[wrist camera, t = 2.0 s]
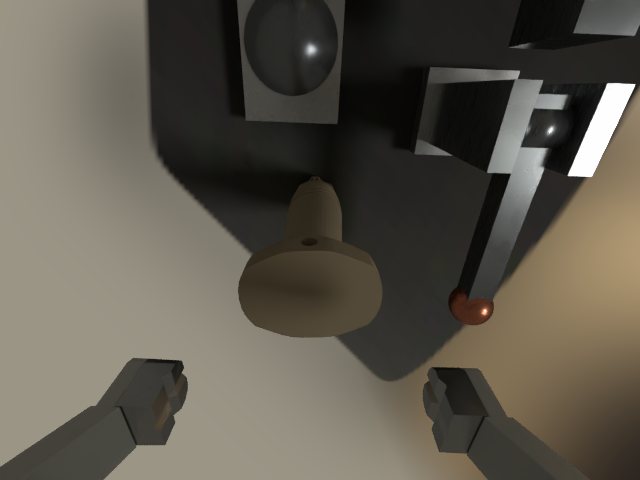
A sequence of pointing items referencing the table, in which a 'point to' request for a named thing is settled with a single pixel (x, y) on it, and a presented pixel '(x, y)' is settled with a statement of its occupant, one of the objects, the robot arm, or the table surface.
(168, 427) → the robot arm
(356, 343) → the table surface
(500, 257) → the lever
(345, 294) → the handle
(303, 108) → the frame
